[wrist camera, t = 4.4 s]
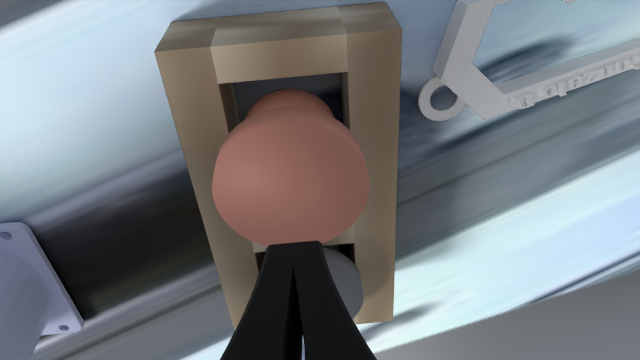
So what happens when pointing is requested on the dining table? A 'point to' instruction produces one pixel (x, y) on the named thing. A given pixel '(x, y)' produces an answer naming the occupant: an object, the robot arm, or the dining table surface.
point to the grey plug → (345, 278)
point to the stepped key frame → (518, 92)
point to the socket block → (281, 62)
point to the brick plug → (290, 172)
